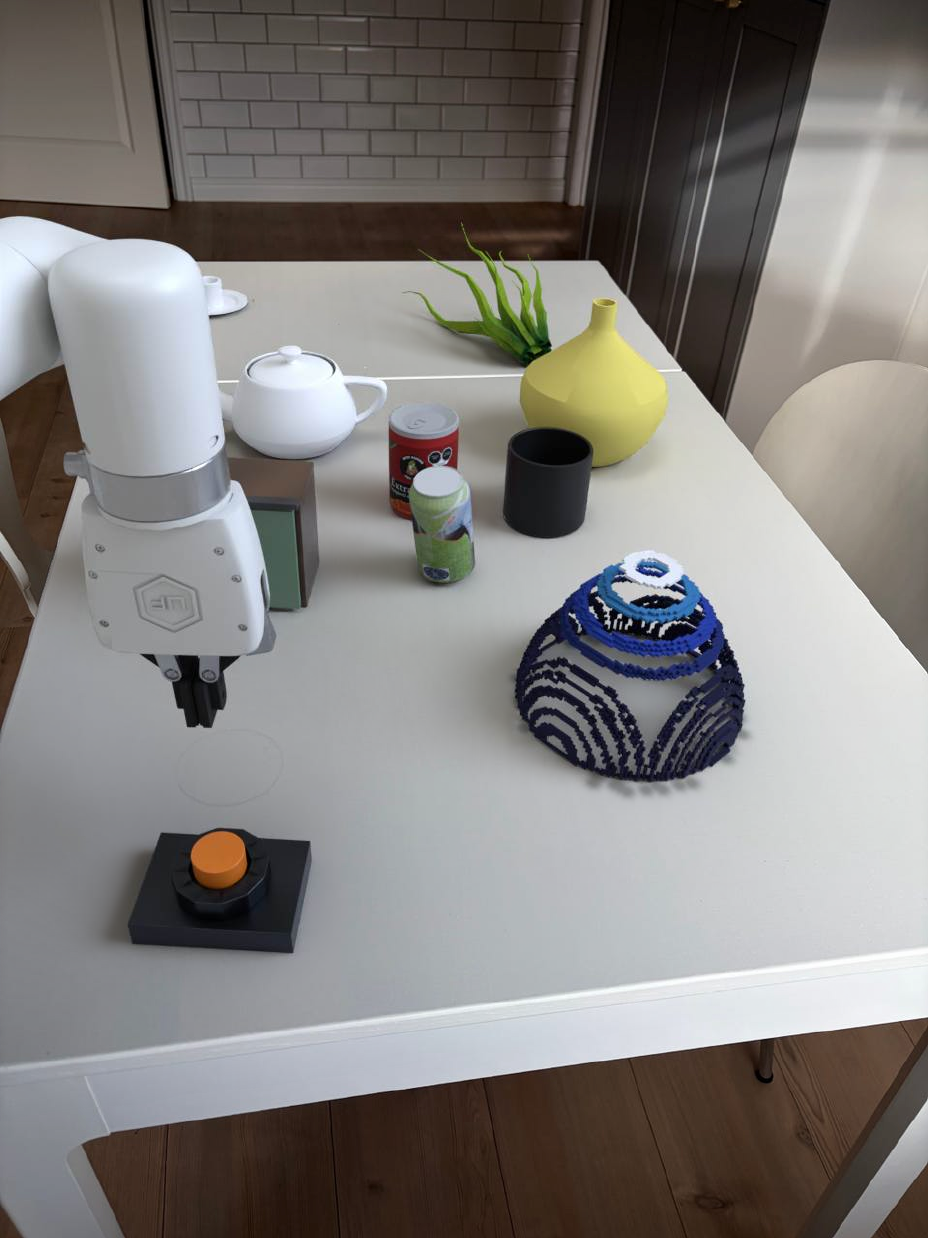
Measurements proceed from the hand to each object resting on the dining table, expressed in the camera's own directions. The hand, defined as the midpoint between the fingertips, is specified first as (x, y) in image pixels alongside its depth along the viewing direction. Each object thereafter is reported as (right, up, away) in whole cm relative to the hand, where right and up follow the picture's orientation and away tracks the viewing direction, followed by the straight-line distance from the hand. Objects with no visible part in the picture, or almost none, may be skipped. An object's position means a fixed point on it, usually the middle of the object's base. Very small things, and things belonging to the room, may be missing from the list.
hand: (204, 713), depth 67 cm
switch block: (+1, -14, +4) cm, 14 cm away
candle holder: (-24, +58, +95) cm, 114 cm away
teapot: (-5, +29, +59) cm, 66 cm away
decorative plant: (+19, +51, +89) cm, 105 cm away
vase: (+33, +28, +61) cm, 75 cm away
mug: (+27, +19, +48) cm, 58 cm away
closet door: (-2, +6, +28) cm, 29 cm away
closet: (-6, +10, +35) cm, 37 cm away
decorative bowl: (+32, -1, +23) cm, 40 cm away
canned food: (+13, +20, +48) cm, 53 cm away
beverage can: (+15, +11, +37) cm, 41 cm away
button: (+1, -11, +1) cm, 11 cm away
